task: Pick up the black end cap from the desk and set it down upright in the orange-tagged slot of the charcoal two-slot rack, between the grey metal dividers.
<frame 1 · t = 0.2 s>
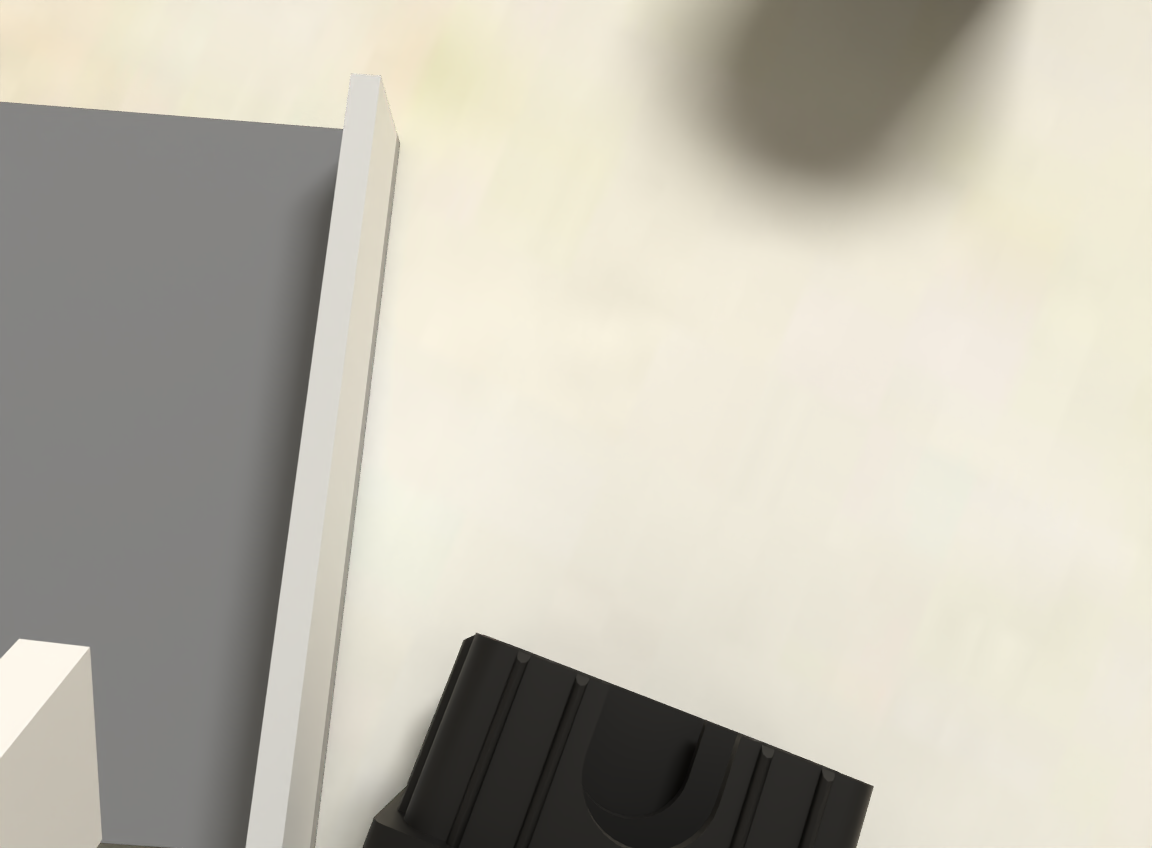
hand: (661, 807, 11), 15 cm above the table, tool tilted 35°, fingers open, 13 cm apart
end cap: (600, 827, 26), on the table
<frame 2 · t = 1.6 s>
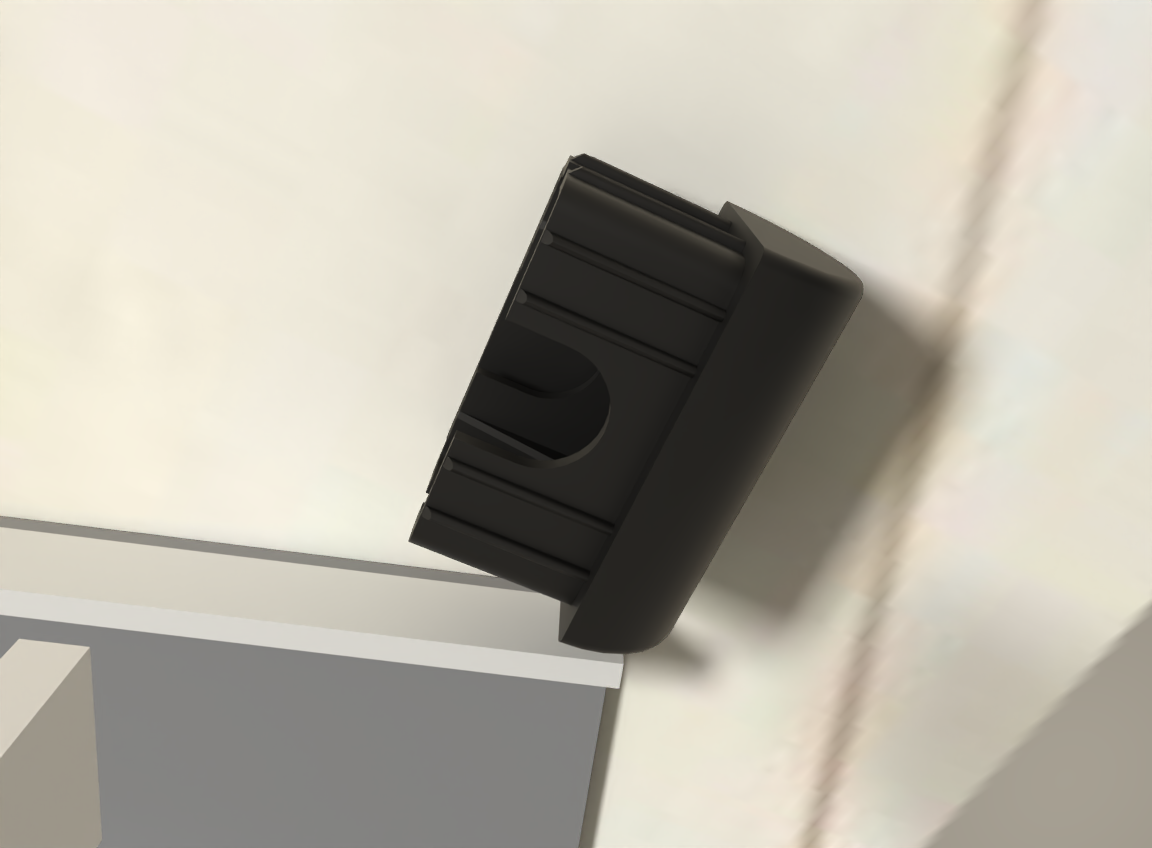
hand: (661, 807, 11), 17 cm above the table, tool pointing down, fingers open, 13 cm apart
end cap: (623, 354, 27), on the table
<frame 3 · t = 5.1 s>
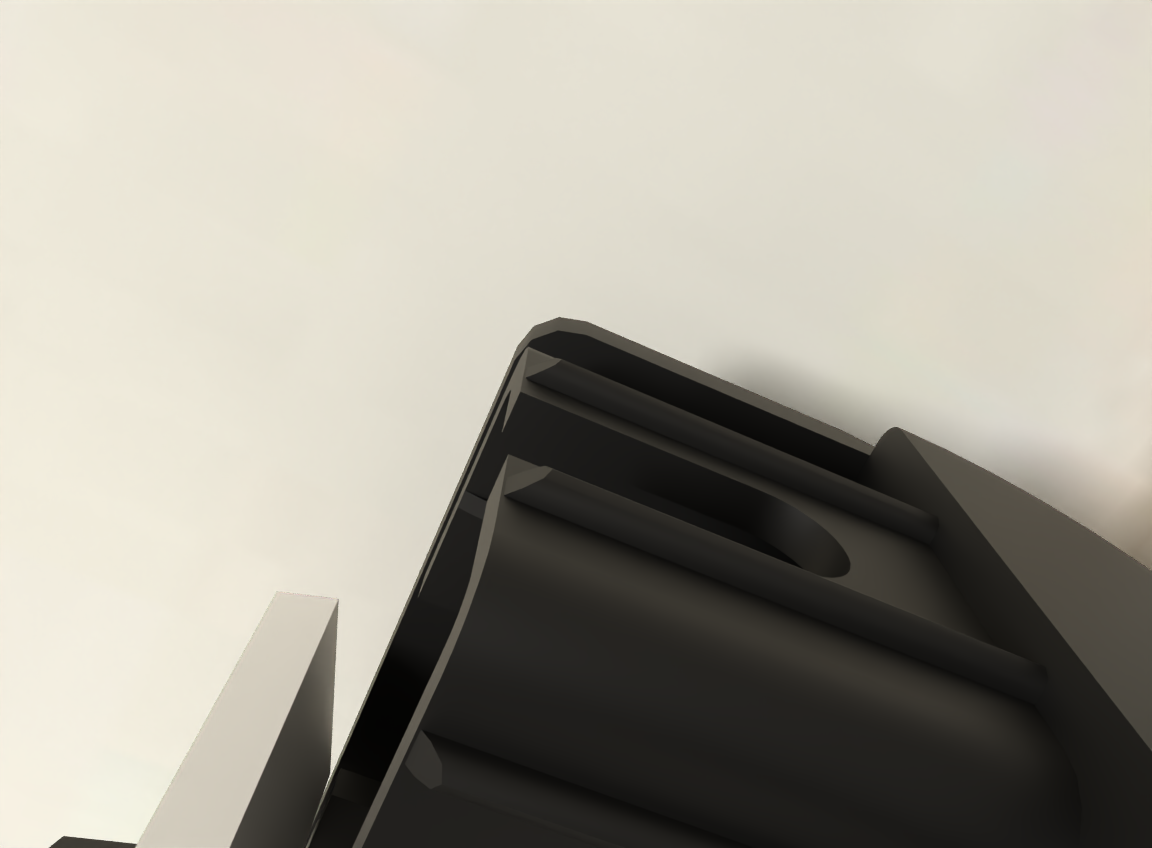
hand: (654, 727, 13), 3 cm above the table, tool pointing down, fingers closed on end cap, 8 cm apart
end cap: (652, 698, 13), point 3 cm above the table, touching gripper
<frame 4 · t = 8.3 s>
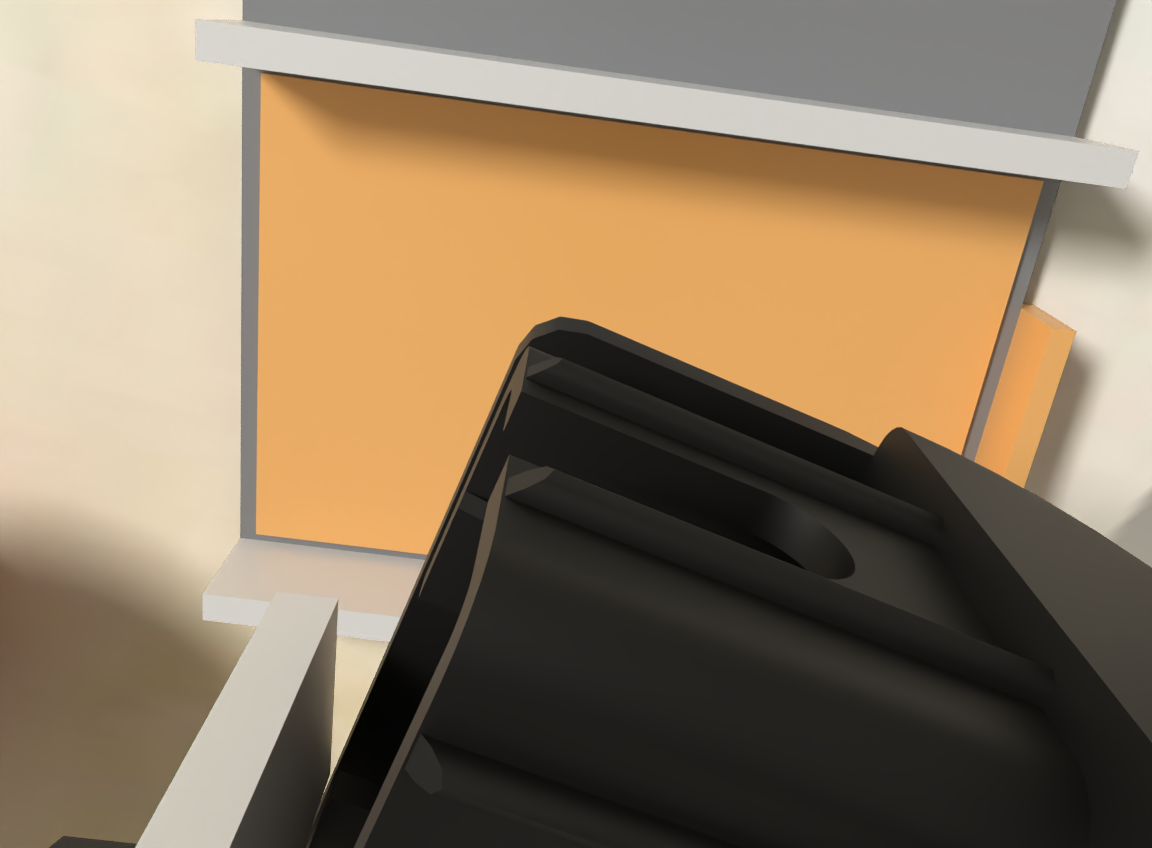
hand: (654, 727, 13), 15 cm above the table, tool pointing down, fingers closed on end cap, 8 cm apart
slot rack: (660, 95, 24), on the table
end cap: (653, 700, 13), point 15 cm above the table, touching gripper
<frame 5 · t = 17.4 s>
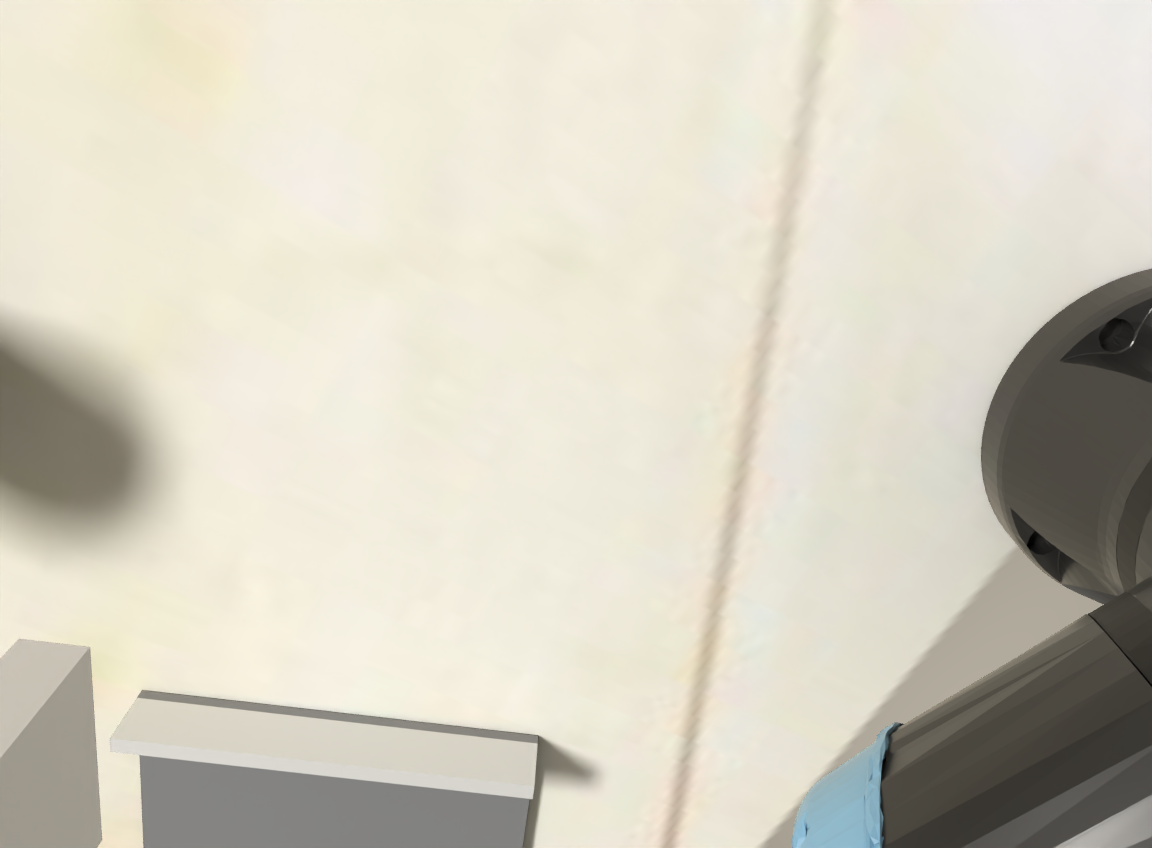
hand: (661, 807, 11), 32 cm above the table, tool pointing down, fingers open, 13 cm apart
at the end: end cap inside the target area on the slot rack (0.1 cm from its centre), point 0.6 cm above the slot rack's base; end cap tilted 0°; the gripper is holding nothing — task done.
